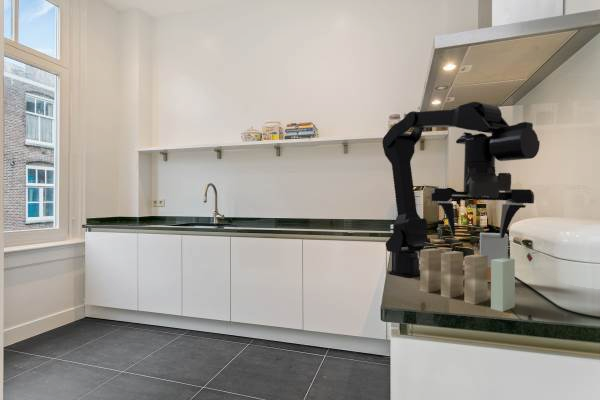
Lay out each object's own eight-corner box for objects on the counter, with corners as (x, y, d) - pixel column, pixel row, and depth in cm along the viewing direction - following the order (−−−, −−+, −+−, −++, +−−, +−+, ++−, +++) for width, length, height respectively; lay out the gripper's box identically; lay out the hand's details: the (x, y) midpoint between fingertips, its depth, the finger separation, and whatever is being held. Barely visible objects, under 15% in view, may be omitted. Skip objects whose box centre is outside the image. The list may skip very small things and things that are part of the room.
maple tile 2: (440, 295, 69) (441, 253, 69) (453, 292, 72) (454, 251, 72) (450, 298, 67) (450, 254, 67) (462, 294, 70) (463, 252, 70)
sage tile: (514, 306, 62) (514, 259, 62) (502, 311, 59) (502, 261, 59) (503, 304, 64) (503, 257, 64) (490, 308, 61) (491, 260, 61)
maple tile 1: (420, 290, 73) (420, 250, 73) (433, 287, 76) (433, 248, 76) (428, 292, 71) (428, 251, 72) (441, 289, 74) (441, 249, 74)
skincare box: (479, 281, 82) (479, 233, 82) (479, 278, 86) (479, 232, 86) (508, 284, 79) (508, 234, 79) (506, 281, 83) (507, 233, 83)
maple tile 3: (464, 301, 65) (464, 256, 65) (477, 297, 68) (477, 254, 68) (474, 304, 63) (474, 257, 63) (487, 300, 66) (487, 255, 66)
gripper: (433, 159, 65) (431, 238, 66) (545, 158, 59) (542, 244, 59) (431, 164, 76) (429, 232, 76) (526, 163, 70) (523, 237, 70)
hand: (477, 236), depth 70 cm, fingers open, 9 cm apart
